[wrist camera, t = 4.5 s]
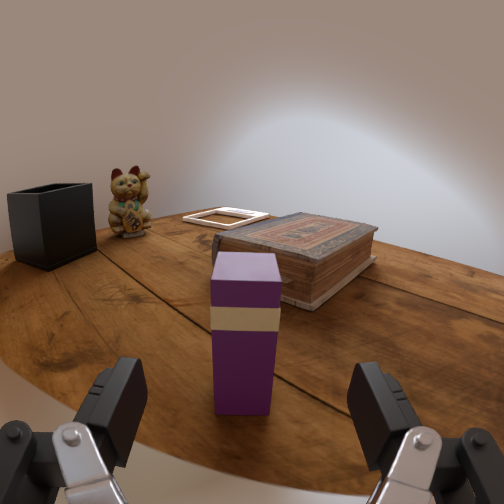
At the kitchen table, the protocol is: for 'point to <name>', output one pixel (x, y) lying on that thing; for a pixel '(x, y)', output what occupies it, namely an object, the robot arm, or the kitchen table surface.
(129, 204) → the decorative figurine
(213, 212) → the photo frame
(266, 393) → the chocolate bar
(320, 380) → the kitchen table surface
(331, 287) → the book
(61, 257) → the waste bin
